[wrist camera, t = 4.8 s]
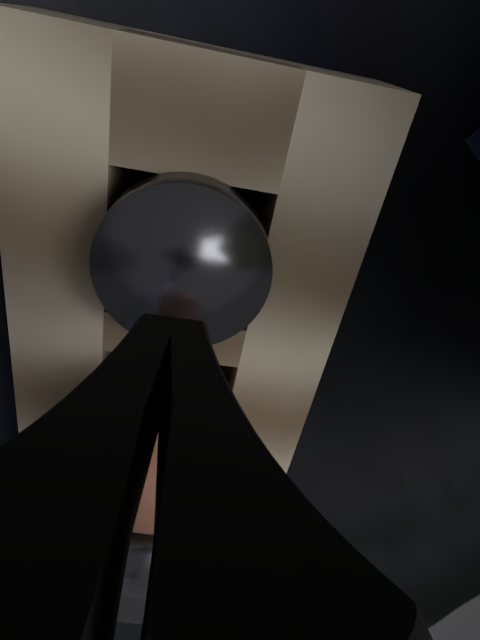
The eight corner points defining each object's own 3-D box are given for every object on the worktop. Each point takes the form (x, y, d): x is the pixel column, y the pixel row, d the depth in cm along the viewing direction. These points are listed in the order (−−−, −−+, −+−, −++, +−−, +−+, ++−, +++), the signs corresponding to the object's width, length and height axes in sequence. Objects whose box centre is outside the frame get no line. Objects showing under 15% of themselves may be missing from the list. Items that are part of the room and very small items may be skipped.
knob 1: (140, 537, 24) (124, 635, 20) (74, 480, 21) (42, 580, 17) (228, 504, 22) (230, 602, 19) (170, 439, 20) (158, 537, 16)
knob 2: (169, 302, 19) (156, 371, 15) (89, 192, 16) (49, 242, 12) (284, 244, 18) (301, 304, 14) (217, 116, 15) (215, 145, 11)
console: (243, 517, 28) (246, 584, 24) (56, 501, 26) (32, 570, 23) (377, 79, 15) (422, 94, 12) (34, 7, 14) (-26, 0, 11)
